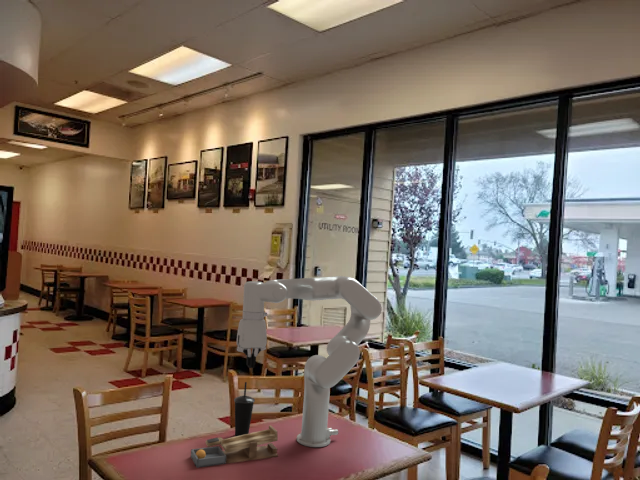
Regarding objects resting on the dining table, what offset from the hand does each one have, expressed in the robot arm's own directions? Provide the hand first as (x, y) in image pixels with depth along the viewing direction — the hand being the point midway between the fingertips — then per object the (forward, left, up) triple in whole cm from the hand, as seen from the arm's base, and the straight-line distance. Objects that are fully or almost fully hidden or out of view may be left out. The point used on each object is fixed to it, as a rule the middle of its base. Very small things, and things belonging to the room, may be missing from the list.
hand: (250, 367), depth 176 cm
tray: (+16, +9, -28) cm, 33 cm away
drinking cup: (-1, -8, -28) cm, 29 cm away
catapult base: (+2, +9, -28) cm, 29 cm away
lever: (+4, +6, -24) cm, 25 cm away
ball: (+18, +9, -26) cm, 33 cm away
